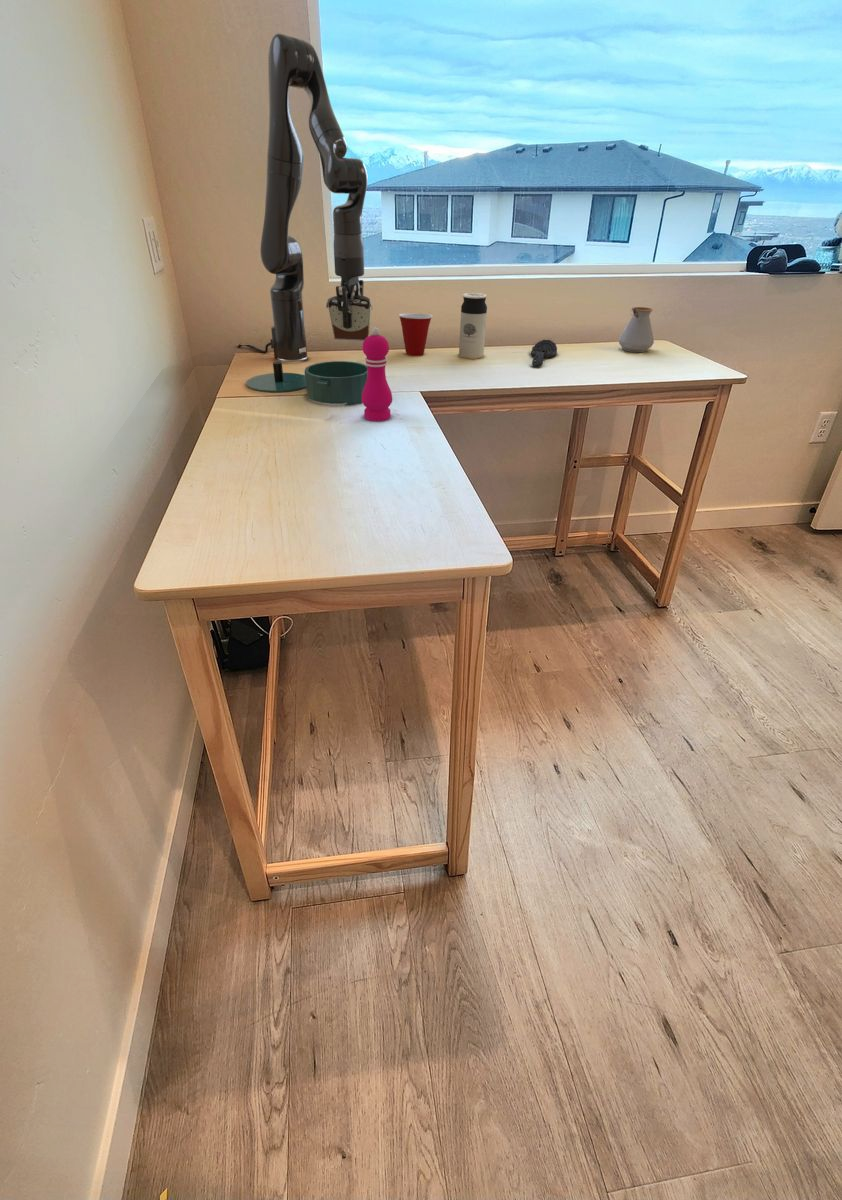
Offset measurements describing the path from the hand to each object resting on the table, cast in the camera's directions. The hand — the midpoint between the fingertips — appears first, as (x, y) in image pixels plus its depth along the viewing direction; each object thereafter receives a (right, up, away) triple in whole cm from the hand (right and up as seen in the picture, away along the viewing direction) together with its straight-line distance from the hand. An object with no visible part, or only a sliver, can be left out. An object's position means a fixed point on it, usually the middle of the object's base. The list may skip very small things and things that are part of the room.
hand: (351, 325), depth 166 cm
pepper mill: (+8, -30, -19) cm, 37 cm away
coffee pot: (+89, +9, +41) cm, 98 cm away
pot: (-3, -21, -5) cm, 22 cm away
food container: (0, -2, +3) cm, 3 cm away
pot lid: (-20, -15, +2) cm, 25 cm away
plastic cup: (+17, +6, +34) cm, 39 cm away
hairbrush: (+57, +4, +32) cm, 66 cm away
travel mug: (+35, +5, +33) cm, 48 cm away
